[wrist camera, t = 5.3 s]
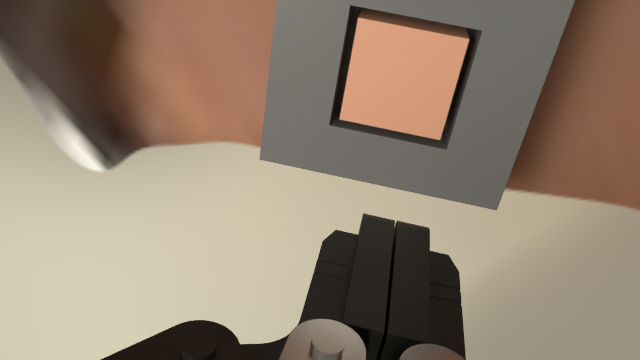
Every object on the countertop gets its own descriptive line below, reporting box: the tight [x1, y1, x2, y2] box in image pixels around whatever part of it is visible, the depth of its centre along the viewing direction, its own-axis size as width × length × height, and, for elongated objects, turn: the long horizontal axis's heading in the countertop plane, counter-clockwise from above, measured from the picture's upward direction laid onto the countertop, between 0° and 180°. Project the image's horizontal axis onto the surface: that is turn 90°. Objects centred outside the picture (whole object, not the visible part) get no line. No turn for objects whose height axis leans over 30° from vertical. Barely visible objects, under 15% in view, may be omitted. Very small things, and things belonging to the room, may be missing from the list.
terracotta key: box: [340, 8, 469, 140], centre depth 24 cm, size 4×4×2 cm
